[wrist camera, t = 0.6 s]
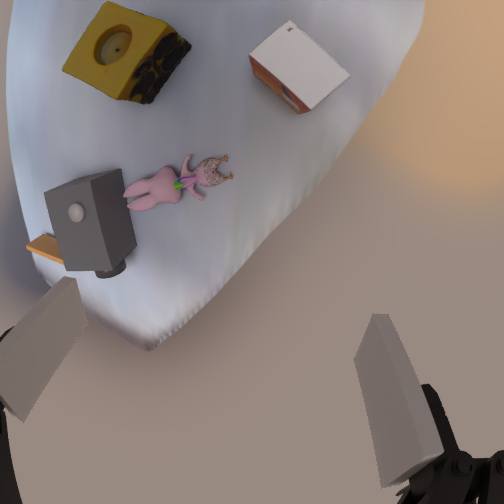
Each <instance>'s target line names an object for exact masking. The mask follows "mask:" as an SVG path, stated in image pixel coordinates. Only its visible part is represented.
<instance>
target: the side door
mask: <svg viewBox="0 0 504 504" xmlns="http://www.w3.org/2000/svg"><path fill="white" fill-rule="evenodd" d="M27 249H28V250H30V251H32V252H34V253H37V254H39V255H41V256H44V257H46V258H48V259H51V260H53V261H56V262H58V263H61V264H63V265H64V263H63V260H62V257H61V254H60V251H59V248H58V244H57V241H56V238H54V237H51V236H48V235H45V234H42V235H41V236H39V237H38V238H36V239H35V240H33V241H32V242H30V243H29V244H27Z"/></svg>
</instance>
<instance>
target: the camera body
mask: <svg viewBox="0 0 504 504" xmlns="http://www.w3.org/2000/svg"><path fill="white" fill-rule="evenodd" d="M124 192H125V189H124V183H123V178H122V172H121V169H117V170H113V171H108V172H104V173H99V174H95V175H91V176H86V177H82V178H78V179H75V180H72V181H70V182H68V183H65V184H63V185H60V186H58V187H56V188H53V189H51V190H49V191H47V192H44V196H45V201H46V205H47V209H48V213H49V217H50V220H51V224H52V228H53V231H54V235H55V238H56V241H57V244H58V248H59V251H60V254H61V257H62V260H63V263H64V265H65V268H66V271H95V273H96V276H97V277H98V278H111V277H114V276H116V275H118V274H120V273H121V272H123V271H124V270H125V268H126V263H125V259H124V258H125V257H126V256H127V255H128V254H129V253H130V252H131V251H132V250H133V249H134V248H135V247H136V246H137V243H136V239H135V235H134V231H133V227H132V222H131V218H130V213H129V209H128V207H127V199H126V197H123V195H124Z"/></svg>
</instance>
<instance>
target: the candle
mask: <svg viewBox="0 0 504 504" xmlns="http://www.w3.org/2000/svg"><path fill="white" fill-rule="evenodd" d="M190 49H191V44H189V43H188V42H187V41H186V40H185V39H184V38H181V36H180V35H178V33H177V32H176V31H175V30H174V29H173V28H172V27H171V26H170V25H169V24H167V23H166V22H164V21H161V20H159V19H156V18H153V17H149V16H146V15H144V14H142V13H139V12H136V11H133V10H130V9H127V8H124V7H122V6H120V5H117V4H115V3H112V2H108V1H107V2H106V3H104V4H103V5H102V7H101V8H100V10H99V11H98V13H97V15H96V16H95V18H94V19H93V21H92V22H91V23H90V24H89V26H88V27H87V29H86V31H85V32H84V34H83V35H82V37H81V38H80V40H79V41H78V43H77V45H76V46H75V48H74V49H73V51H72V52H71V54H70V56H69V57H68V59H67V61H66V63H65V64H64V66H63V68H62V71H63V72H65V73H67V74H70V75H72V76H74V77H75V78H78V79H80V80H82V81H84V82H86V83H87V84H89V85H91V86H93V87H95V88H96V89H98V90H100V91H102V92H104V93H105V94H106V95H108V96H109V97H111V98H113V99H115V100H125V101H126V100H128V101H133V102H137V103H141V104H146V103H147V104H150V103H151V102H153V100H154V98H155V96H156V95H157V94H158V93H159V91H160V88H161V87H162V86H163V85H164V83H165V82H167V80H168V78H169V77H170V75H171V73H172V72H173V71H174V69H175V68H176V66H177V65H178V64H179V63H180V61H181V59H182V58H183V57H184V56H185V55H186V53H187V52H188V51H190Z"/></svg>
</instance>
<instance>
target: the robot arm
mask: <svg viewBox="0 0 504 504" xmlns="http://www.w3.org/2000/svg"><path fill="white" fill-rule="evenodd" d="M88 325H89V323H88V320H87V317H86V314H85V310H84V307H83V304H82V300H81V297H80V293H79V289H78V285H77V281H76V278H71V277H66V276H64V277H63V278H62V279H61V280H60V281H59V282H58V283H56V284H55V285H54V286H53V287H52V288H51V289H50V290H49V291H48V292H47V293H46V294H45V295H44V296H43V297H42V298H41V299H40V300H39V301H38V302H37V303H36V304H35V305H34V306H33V307H32V308H31V309H30V310H29V311H28V312H27V313H26V314H25V316H23V318H22V319H21V320H20V321H19V322H18V323H17V324H16V325H15V326H13V327H12V328H10V329H8V330H7V331H5V332H4V334H3V335H2V336H1V337H0V504H22V500H21V498H20V494H19V490H18V486H17V482H16V478H15V474H14V469H13V464H12V459H11V453H10V447H9V440H8V432H7V422H6V415H5V412H4V411H3V409H4V407H6V408H7V410H8V411H9V412H10V413H11V414H12V415H13V416H14V417H16V418H17V419H19V420H20V421H22V422H23V423H24V421H25V420H26V418H27V416H28V414H29V413H30V411H31V409H32V408H33V406H34V404H35V403H36V401H37V399H38V398H39V396H40V395H41V393H42V391H43V390H44V388H45V387H46V385H47V384H48V382H49V381H50V379H51V377H52V376H53V375H54V373H55V371H56V370H57V369H58V367H59V365H60V364H61V363H62V361H63V360H64V358H65V357H66V355H67V354H68V353H69V351H70V350H71V348H72V347H73V345H74V344H75V343H76V341H77V340H78V338H79V337H80V336H81V334H82V333H83V332H84V330H85V329H86V328H87V326H88ZM354 362H355V366H356V370H357V373H358V378H359V382H360V386H361V390H362V394H363V398H364V402H365V407H366V411H367V416H368V420H369V425H370V429H371V434H372V439H373V444H374V449H375V454H376V460H377V465H378V471H379V477H380V483H381V489H382V488H387V487H391V486H396V485H400V484H401V483H403V482H404V481H406V480H407V479H409V483H410V485H408V486H407V487H405V488H404V489H402V490H400V491H399V492H398V493H397V494H396V496H399V495H401V494H402V493H403V495H402V496H401V498H400V500H399V501H398V503H397V504H477V503H476V498H478V497H479V498H478V504H504V450H501V451H498V452H496V453H495V454H494V455H493V456H491V457H490V458H472V456H471V455H470V454H468V453H467V452H465V451H460V450H459V448H458V445H457V443H456V440H455V437H454V435H453V432H452V429H451V426H450V424H449V421H448V418H447V416H445V411H444V408H443V407H442V403H441V401H440V399H439V396H438V394H437V392H436V391H435V390H434V389H433V388H432V387H431V386H430V384H423V385H420V383H419V380H418V378H417V375H416V373H415V371H414V368H413V366H412V364H411V362H410V359H409V357H408V355H407V353H406V350H405V348H404V346H403V344H402V342H401V340H400V337H399V335H398V333H397V331H396V329H395V327H394V325H393V323H392V321H391V319H390V317H389V315H388V314H372V317H371V319H370V322H369V325H368V327H367V330H366V332H365V334H364V337H363V339H362V342H361V344H360V346H359V349H358V351H357V353H356V356H355V358H354Z"/></svg>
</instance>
